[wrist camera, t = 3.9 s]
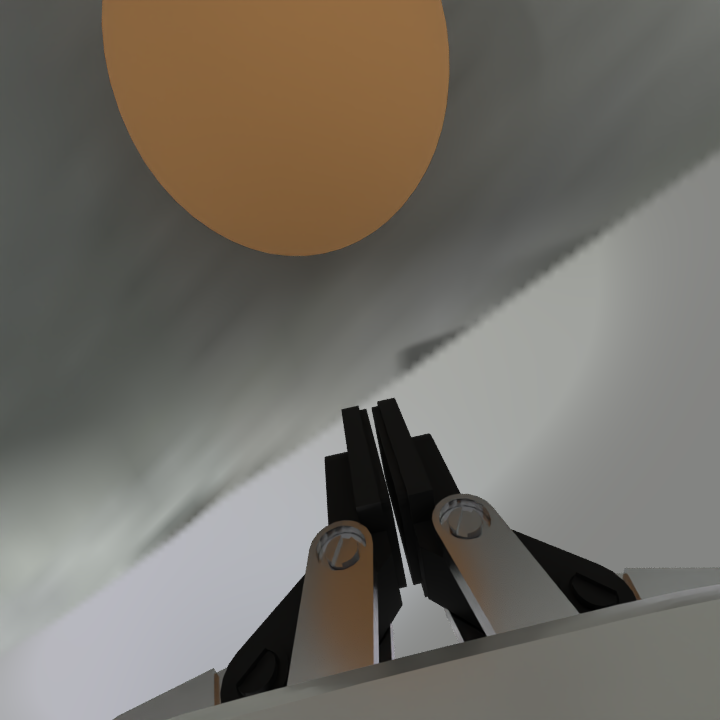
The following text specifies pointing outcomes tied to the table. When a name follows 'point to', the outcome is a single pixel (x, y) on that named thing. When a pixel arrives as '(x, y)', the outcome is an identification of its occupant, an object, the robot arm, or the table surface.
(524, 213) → the table surface
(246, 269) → the table surface
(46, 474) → the table surface
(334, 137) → the ball
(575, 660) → the robot arm
